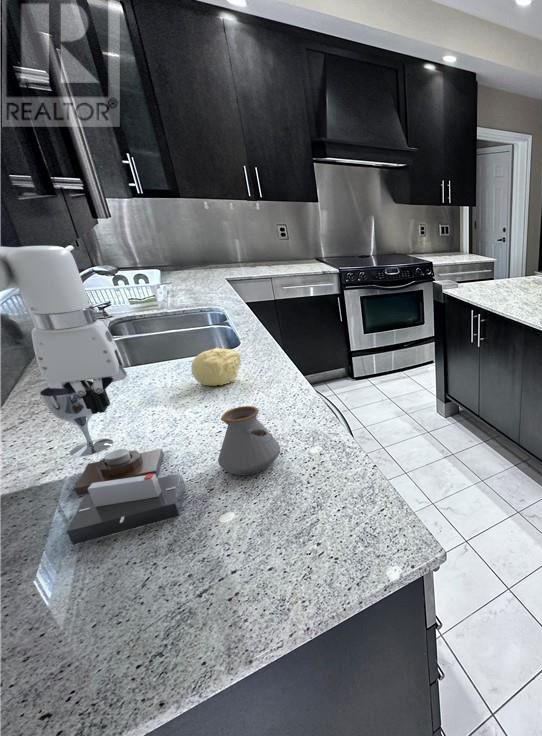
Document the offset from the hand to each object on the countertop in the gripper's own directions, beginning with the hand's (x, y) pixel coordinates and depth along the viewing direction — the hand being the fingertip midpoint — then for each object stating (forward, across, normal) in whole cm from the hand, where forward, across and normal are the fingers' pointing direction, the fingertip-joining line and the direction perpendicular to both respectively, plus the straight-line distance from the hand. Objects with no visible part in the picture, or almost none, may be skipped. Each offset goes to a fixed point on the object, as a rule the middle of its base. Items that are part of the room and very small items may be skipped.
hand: (100, 410), depth 78 cm
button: (+12, 0, 0) cm, 12 cm away
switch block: (+15, 0, 0) cm, 15 cm away
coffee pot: (+15, -24, +13) cm, 31 cm away
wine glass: (+15, +8, -15) cm, 23 cm away
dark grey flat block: (+15, -4, +15) cm, 22 cm away
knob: (+12, -4, +15) cm, 20 cm away
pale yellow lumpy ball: (+15, -15, -44) cm, 49 cm away
